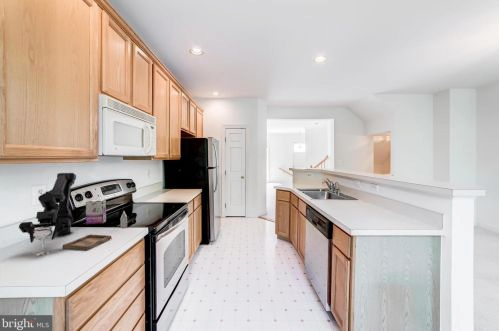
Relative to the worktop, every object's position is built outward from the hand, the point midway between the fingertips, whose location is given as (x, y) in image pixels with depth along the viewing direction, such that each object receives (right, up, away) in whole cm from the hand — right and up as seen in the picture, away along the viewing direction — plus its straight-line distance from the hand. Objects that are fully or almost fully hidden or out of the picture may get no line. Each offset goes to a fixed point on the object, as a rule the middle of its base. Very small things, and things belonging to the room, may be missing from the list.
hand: (41, 241), depth 103 cm
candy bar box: (-11, -6, +52) cm, 54 cm away
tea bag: (+13, -6, +45) cm, 47 cm away
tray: (+12, -6, +14) cm, 19 cm away
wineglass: (-1, -7, +1) cm, 7 cm away
